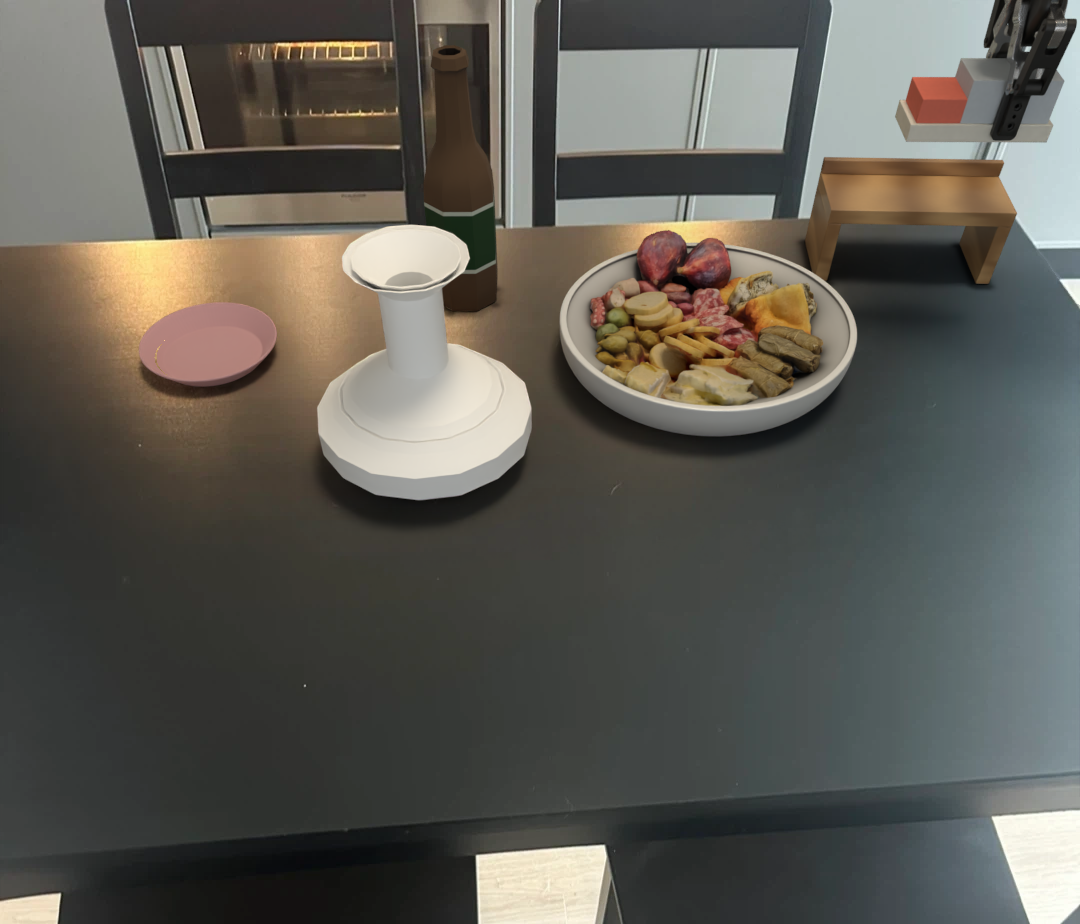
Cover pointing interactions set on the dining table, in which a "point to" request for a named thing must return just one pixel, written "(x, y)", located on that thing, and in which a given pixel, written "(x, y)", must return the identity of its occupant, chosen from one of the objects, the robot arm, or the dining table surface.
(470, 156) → the beer bottle
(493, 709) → the dining table surface
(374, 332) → the dining table surface
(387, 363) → the candle holder
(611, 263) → the bowl
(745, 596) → the dining table surface
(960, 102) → the stepped block with orange
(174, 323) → the plate
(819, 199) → the shoe shelf
